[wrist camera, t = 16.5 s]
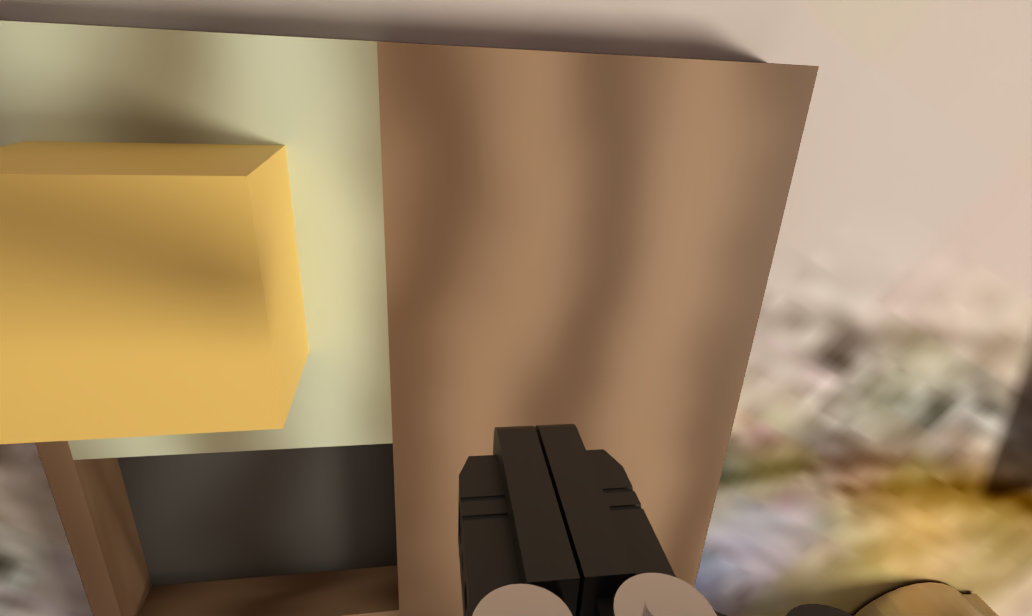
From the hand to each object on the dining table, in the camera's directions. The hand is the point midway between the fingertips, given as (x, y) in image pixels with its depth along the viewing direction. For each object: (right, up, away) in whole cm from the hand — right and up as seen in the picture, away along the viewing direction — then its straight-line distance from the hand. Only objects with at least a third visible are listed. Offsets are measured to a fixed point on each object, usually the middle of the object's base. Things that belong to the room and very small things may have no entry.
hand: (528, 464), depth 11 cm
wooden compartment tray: (-5, -5, +16) cm, 17 cm away
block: (-11, +5, +7) cm, 14 cm away
